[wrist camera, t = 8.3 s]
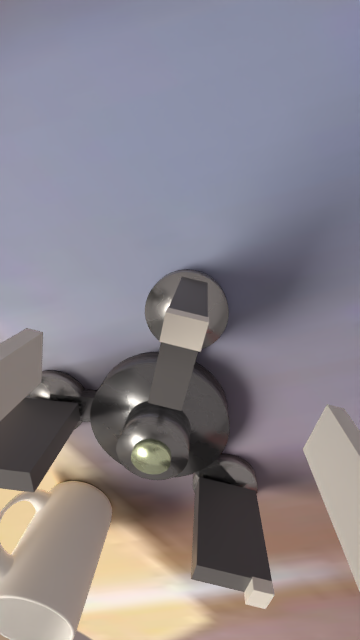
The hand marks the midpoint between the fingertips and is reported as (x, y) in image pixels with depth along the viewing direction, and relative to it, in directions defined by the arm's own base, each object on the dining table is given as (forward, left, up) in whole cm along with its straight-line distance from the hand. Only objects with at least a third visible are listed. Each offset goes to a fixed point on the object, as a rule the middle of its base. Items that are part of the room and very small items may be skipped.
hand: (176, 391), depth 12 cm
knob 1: (0, -17, -10) cm, 20 cm away
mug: (+11, -27, -12) cm, 31 cm away
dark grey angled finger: (+18, -9, -10) cm, 22 cm away
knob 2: (0, 0, -10) cm, 10 cm away
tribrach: (+9, -9, -11) cm, 17 cm away
